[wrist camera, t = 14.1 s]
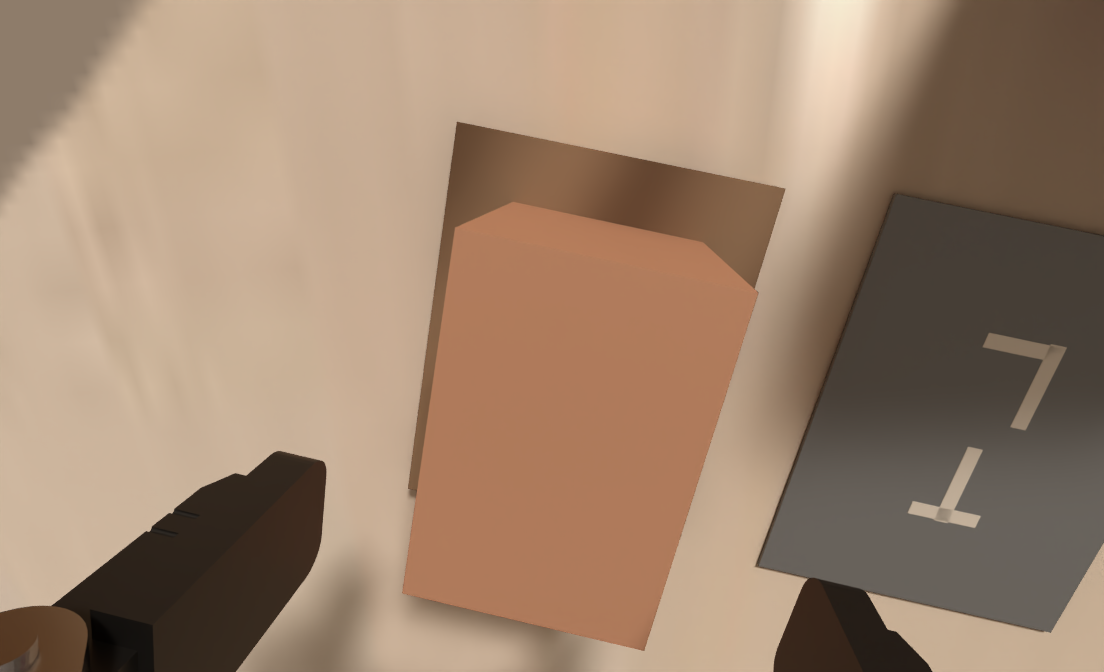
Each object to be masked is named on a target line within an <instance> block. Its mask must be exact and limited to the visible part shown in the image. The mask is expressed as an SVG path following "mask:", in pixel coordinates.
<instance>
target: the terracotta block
mask: <svg viewBox="0 0 1104 672" xmlns="http://www.w3.org/2000/svg"><path fill="white" fill-rule="evenodd" d="M757 296H758V292H757V291H756V290H755V289H754V288H753V287H751V286H750V285H749V284H748V283H747V282H746V281H745V280H744V279H743V278H742V277H741V276H739V275H738V274H737V273H736V272H735V271H734V270H733V269H732V268H731V267H730V266H728V265H727V264H726V263H725V262H724V261H723V260H722V259H721V258H720V257H719V256H718V255H716V254H715V253H714V252H713V251H712V250H711V249H710V248H709V247H708V246H707V245H706V244H704V243H703V242H700V241H695V240H690V239H685V238H681V237H676V236H671V235H667V234H662V233H657V232H653V231H648V230H643V229H638V228H634V227H629V226H624V225H620V224H615V223H610V222H606V221H601V220H596V219H591V218H587V217H582V216H577V215H573V214H568V213H563V212H559V211H554V210H549V209H544V208H540V207H535V206H530V205H526V204H521V203H516V202H511V203H509V204H507V205H505V206H502V207H500V208H498V209H496V210H494V211H491V212H489V213H487V214H485V215H482V216H480V217H478V218H476V219H473V220H471V221H469V222H467V223H464V224H462V225H460V226H458V227H455V232H454V239H453V246H452V253H451V259H450V266H449V273H448V280H447V287H446V294H445V301H444V308H443V315H442V322H441V329H440V336H439V342H438V349H437V356H436V363H435V370H434V377H433V384H432V391H431V398H430V405H429V412H428V419H427V425H426V432H425V439H424V446H423V453H422V460H421V467H420V474H419V481H418V488H417V495H416V502H415V509H414V515H413V522H412V529H411V536H410V543H409V550H408V557H407V564H406V571H405V578H404V585H403V592H402V593H403V594H407V595H412V596H416V597H420V598H424V599H428V600H433V601H437V602H441V603H445V604H449V605H454V606H458V607H462V608H466V609H470V610H475V611H479V612H483V613H487V614H491V615H496V616H500V617H504V618H508V619H512V620H517V621H521V622H525V623H529V624H533V625H538V626H542V627H546V628H550V629H554V630H559V631H563V632H567V633H571V634H576V635H580V636H584V637H588V638H592V639H597V640H601V641H605V642H609V643H613V644H618V645H622V646H626V647H630V648H634V649H639V650H643V651H644V650H645V646H646V643H647V640H648V637H649V634H650V631H651V628H652V624H653V621H654V618H655V615H656V612H657V609H658V606H659V603H660V599H661V596H662V593H663V590H664V587H665V584H666V581H667V577H668V574H669V571H670V568H671V565H672V562H673V559H674V556H675V552H676V549H677V546H678V543H679V540H680V537H681V534H682V530H683V527H684V524H685V521H686V518H687V515H688V512H689V509H690V505H691V502H692V499H693V496H694V493H695V490H696V487H697V484H698V480H699V477H700V474H701V471H702V468H703V465H704V462H705V458H706V455H707V452H708V449H709V446H710V443H711V440H712V437H713V433H714V430H715V427H716V424H717V421H718V418H719V415H720V411H721V408H722V405H723V402H724V399H725V396H726V393H727V390H728V386H729V383H730V380H731V377H732V374H733V371H734V368H735V364H736V361H737V358H738V355H739V352H740V349H741V346H742V343H743V339H744V336H745V333H746V330H747V327H748V324H749V321H750V317H751V314H752V311H753V308H754V305H755V302H756V299H757Z"/></svg>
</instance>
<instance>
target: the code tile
mask: <svg viewBox="0 0 1104 672" xmlns="http://www.w3.org/2000/svg"><path fill="white" fill-rule="evenodd" d="M1103 543H1104V236H1101V235H1096V234H1091V233H1087V232H1082V231H1077V230H1072V229H1067V228H1062V227H1057V226H1052V225H1047V224H1042V223H1037V222H1032V221H1027V220H1022V219H1017V218H1013V217H1008V216H1003V215H998V214H993V213H988V212H983V211H978V210H973V209H968V208H963V207H958V206H953V205H948V204H943V203H939V202H934V201H929V200H924V199H919V198H914V197H909V196H904V195H899V194H894V196H893V198H892V201H891V204H890V206H889V209H888V212H887V214H886V217H885V220H884V223H883V225H882V228H881V231H880V233H879V236H878V239H877V242H876V244H875V247H874V250H873V252H872V255H871V258H870V260H869V263H868V266H867V269H866V271H865V274H864V277H863V279H862V282H861V285H860V288H859V290H858V293H857V296H856V298H855V301H854V304H853V306H852V309H851V312H850V315H849V317H848V320H847V323H846V325H845V328H844V331H843V334H842V336H841V339H840V342H839V344H838V347H837V350H836V352H835V355H834V358H833V361H832V363H831V366H830V369H829V371H828V374H827V377H826V380H825V382H824V385H823V388H822V390H821V393H820V396H819V398H818V401H817V404H816V407H815V409H814V412H813V415H812V417H811V420H810V423H809V426H808V428H807V431H806V434H805V436H804V439H803V442H802V444H801V447H800V450H799V453H798V455H797V458H796V461H795V463H794V466H793V469H792V472H791V474H790V477H789V480H788V482H787V485H786V488H785V490H784V493H783V496H782V499H781V501H780V504H779V507H778V509H777V512H776V515H775V517H774V520H773V523H772V526H771V528H770V531H769V534H768V536H767V539H766V542H765V545H764V547H763V550H762V553H761V555H760V558H759V561H758V566H760V567H765V568H769V569H773V570H778V571H782V572H787V573H791V574H795V575H800V576H804V577H809V578H817V579H821V580H826V581H830V582H834V583H838V584H843V585H847V586H851V587H856V588H860V589H862V590H866V591H870V592H875V593H879V594H883V595H888V596H892V597H897V598H901V599H905V600H910V601H914V602H919V603H923V604H927V605H932V606H936V607H941V608H945V609H949V610H954V611H958V612H963V613H967V614H971V615H976V616H980V617H985V618H989V619H993V620H998V621H1002V622H1007V623H1011V624H1015V625H1020V626H1024V627H1029V628H1033V629H1037V630H1042V631H1046V632H1050V633H1051V631H1052V630H1053V628H1054V626H1055V624H1056V623H1057V621H1058V619H1059V618H1060V616H1061V614H1062V613H1063V611H1064V609H1065V607H1066V606H1067V604H1068V602H1069V601H1070V599H1071V597H1072V596H1073V594H1074V592H1075V590H1076V589H1077V587H1078V585H1079V584H1080V582H1081V580H1082V579H1083V577H1084V575H1085V574H1086V572H1087V570H1088V568H1089V567H1090V565H1091V563H1092V562H1093V560H1094V558H1095V557H1096V555H1097V553H1098V551H1099V550H1100V548H1101V546H1102V545H1103Z"/></svg>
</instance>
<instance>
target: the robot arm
mask: <svg viewBox="0 0 1104 672" xmlns="http://www.w3.org/2000/svg"><path fill="white" fill-rule="evenodd" d="M325 485H326V466H325V463H324V462H323V461H320V460H316V459H311V458H307V457H303V456H299V455H294V454H290V453H286V452H282V451H277V452H274V453H273V454H271V455H270V456H269V457H268V458H267V459H265V460H264V461H263V462H262V463H261V464H260V465H258V466H257V467H256V468H255V469H254V470H253V471H251V472H250V473H249V474H248V475H247V476H244V475H240V474H236V473H235V474H233V475H230V476H228V477H226V478H223V479H221V480H219V481H216V482H214V483H211V484H209V485H207V486H204V487H202V488H200V489H199V490H198V491H196V492H195V493H194V494H193V495H191V496H190V497H189V498H188V499H186V500H185V501H184V502H183V503H181V504H180V505H179V506H177V507H176V508H175V509H174V512H173V513H172V514H171V513H169V514H167V515H166V516H165V517H164V518H162V519H161V520H160V521H158V522H157V523H156V524H155V525H153V526H152V529H151V531H150V532H147V531H146V532H145V533H143V534H142V535H141V536H139V537H138V538H137V539H136V540H134V541H133V542H132V543H131V544H129V545H128V546H127V547H126V548H124V549H123V550H122V551H120V552H119V553H118V554H117V555H115V556H114V557H113V558H112V559H110V560H109V561H108V562H107V563H105V564H104V565H103V566H101V567H100V568H99V569H98V570H96V571H95V572H94V573H93V574H91V575H90V576H89V577H87V578H86V579H85V580H84V581H82V582H81V583H80V584H79V585H77V586H76V587H75V588H74V589H72V590H71V591H70V592H68V593H67V594H66V595H65V596H63V597H62V598H61V599H60V600H58V601H57V602H56V603H55V604H53V605H52V606H30V607H23V608H17V609H12V610H8V611H4V612H0V672H236V671H237V669H238V668H239V667H240V665H241V664H242V663H243V661H244V660H245V659H246V657H247V656H248V655H249V653H250V652H251V651H252V649H253V648H254V647H255V645H256V644H257V643H258V641H259V640H260V639H261V637H262V636H263V635H264V633H265V632H266V631H267V629H268V628H269V627H270V625H271V624H272V623H273V621H274V620H275V619H276V617H277V616H278V615H279V613H280V612H281V611H282V609H283V608H284V607H285V605H286V604H287V603H288V601H289V600H290V599H291V597H292V596H293V594H294V593H295V592H296V590H297V589H298V588H299V586H300V585H301V584H302V582H303V581H304V580H305V578H306V577H307V575H308V574H309V572H310V570H311V568H312V566H313V564H314V562H315V559H316V557H317V554H318V551H319V547H320V543H321V536H322V523H323V511H324V498H325ZM774 672H932V670H931V669H930V667H929V665H928V664H927V663H926V662H925V661H924V660H923V659H922V658H921V657H920V655H919V654H918V653H917V652H916V651H915V650H914V649H913V648H912V647H911V646H910V645H909V644H908V643H907V642H906V641H905V640H904V639H903V638H902V637H901V636H900V635H899V634H898V633H897V632H895V631H891V630H887V628H886V626H885V624H884V623H883V621H882V619H881V617H880V615H879V614H878V612H877V610H876V608H875V607H874V605H873V603H872V601H871V600H870V598H869V596H868V595H867V593H866V592H865V591H864V590H862V589H860V588H856V587H851V586H847V585H843V584H838V583H834V582H830V581H826V580H821V579H817V578H810V579H808V580H807V581H806V582H805V583H804V585H803V587H802V589H801V592H800V594H799V596H798V599H797V601H796V604H795V606H794V609H793V611H792V614H791V616H790V619H789V621H788V624H787V626H786V628H785V631H784V633H783V636H782V638H781V641H780V643H779V646H778V648H777V651H776V655H775V660H774Z"/></svg>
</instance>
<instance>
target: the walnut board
mask: <svg viewBox="0 0 1104 672" xmlns="http://www.w3.org/2000/svg"><path fill="white" fill-rule="evenodd" d="M784 192H785V189H784V188H779V187H774V186H769V185H765V184H760V183H755V182H750V181H745V180H740V179H735V178H730V177H725V176H720V175H715V174H711V173H706V172H701V171H696V170H691V169H686V168H681V167H676V166H671V165H666V164H661V163H657V162H652V161H647V160H642V159H637V158H632V157H627V156H622V155H617V154H612V153H608V152H603V151H598V150H593V149H588V148H583V147H578V146H573V145H568V144H563V143H558V142H554V141H549V140H544V139H539V138H534V137H529V136H524V135H519V134H514V133H509V132H504V131H500V130H495V129H490V128H485V127H480V126H475V125H470V124H465V123H460V122H457V126H456V133H455V141H454V148H453V156H452V163H451V171H450V178H449V186H448V193H447V201H446V208H445V216H444V223H443V231H442V238H441V246H440V253H439V260H438V268H437V275H436V283H435V290H434V298H433V305H432V313H431V320H430V328H429V335H428V343H427V350H426V358H425V365H424V373H423V380H422V388H421V395H420V403H419V410H418V418H417V425H416V433H415V440H414V448H413V455H412V463H411V470H410V478H409V485H408V489H412V490H416V491H417V488H418V481H419V474H420V467H421V460H422V453H423V446H424V439H425V432H426V425H427V419H428V412H429V405H430V398H431V391H432V384H433V377H434V370H435V363H436V356H437V349H438V342H439V336H440V329H441V322H442V315H443V308H444V301H445V294H446V287H447V280H448V273H449V266H450V259H451V253H452V246H453V239H454V232H455V227H458V226H460V225H462V224H464V223H467V222H469V221H471V220H473V219H476V218H478V217H480V216H482V215H485V214H487V213H489V212H491V211H494V210H496V209H498V208H500V207H502V206H505V205H507V204H509V203H511V202H516V203H521V204H526V205H530V206H535V207H540V208H544V209H549V210H554V211H559V212H563V213H568V214H573V215H577V216H582V217H587V218H591V219H596V220H601V221H606V222H610V223H615V224H620V225H624V226H629V227H634V228H638V229H643V230H648V231H653V232H657V233H662V234H667V235H671V236H676V237H681V238H685V239H690V240H695V241H700V242H703V243H704V244H706V245H707V246H708V247H709V248H710V249H711V250H712V251H713V252H714V253H715V254H716V255H718V256H719V257H720V258H721V259H722V260H723V261H724V262H725V263H726V264H727V265H728V266H730V267H731V268H732V269H733V270H734V271H735V272H736V273H737V274H738V275H739V276H741V277H742V278H743V279H744V280H745V281H746V282H747V283H748V284H749V285H750V286H751V287H753V288H755V285H756V282H757V279H758V276H759V272H760V269H761V266H762V263H763V260H764V256H765V253H766V250H767V247H768V244H769V240H770V237H771V234H772V231H773V227H774V224H775V221H776V218H777V215H778V211H779V208H780V205H781V202H782V199H783V195H784Z"/></svg>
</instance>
